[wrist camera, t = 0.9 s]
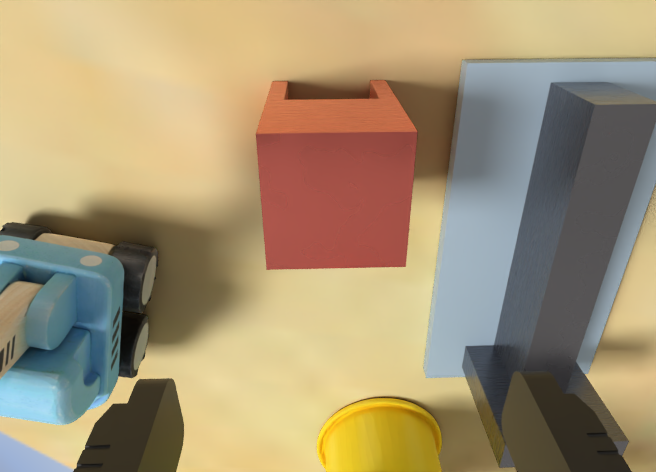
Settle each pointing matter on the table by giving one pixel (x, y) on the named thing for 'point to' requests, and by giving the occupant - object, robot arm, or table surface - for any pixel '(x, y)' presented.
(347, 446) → the stacking cups
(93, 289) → the toy excavator
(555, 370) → the coupler rail
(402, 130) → the red slotted block
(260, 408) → the table surface
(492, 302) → the base board
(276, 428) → the table surface
